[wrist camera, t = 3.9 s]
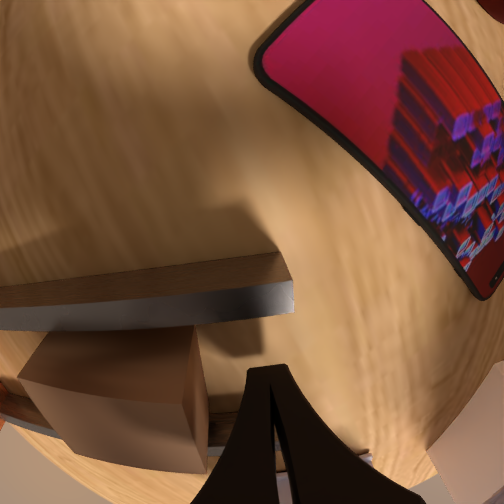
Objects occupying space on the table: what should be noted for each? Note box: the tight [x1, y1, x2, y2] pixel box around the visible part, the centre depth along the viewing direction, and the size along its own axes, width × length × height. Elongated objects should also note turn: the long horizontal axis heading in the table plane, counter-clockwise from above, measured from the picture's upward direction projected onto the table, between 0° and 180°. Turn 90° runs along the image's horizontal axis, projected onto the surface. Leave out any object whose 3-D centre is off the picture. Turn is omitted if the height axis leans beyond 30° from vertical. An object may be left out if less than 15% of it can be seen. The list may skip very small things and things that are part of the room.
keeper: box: [17, 325, 209, 474], centre depth 9 cm, size 6×5×4 cm
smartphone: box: [253, 0, 504, 301], centre depth 8 cm, size 8×1×15 cm
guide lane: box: [0, 252, 294, 456], centre depth 8 cm, size 20×9×5 cm, turn 97°
